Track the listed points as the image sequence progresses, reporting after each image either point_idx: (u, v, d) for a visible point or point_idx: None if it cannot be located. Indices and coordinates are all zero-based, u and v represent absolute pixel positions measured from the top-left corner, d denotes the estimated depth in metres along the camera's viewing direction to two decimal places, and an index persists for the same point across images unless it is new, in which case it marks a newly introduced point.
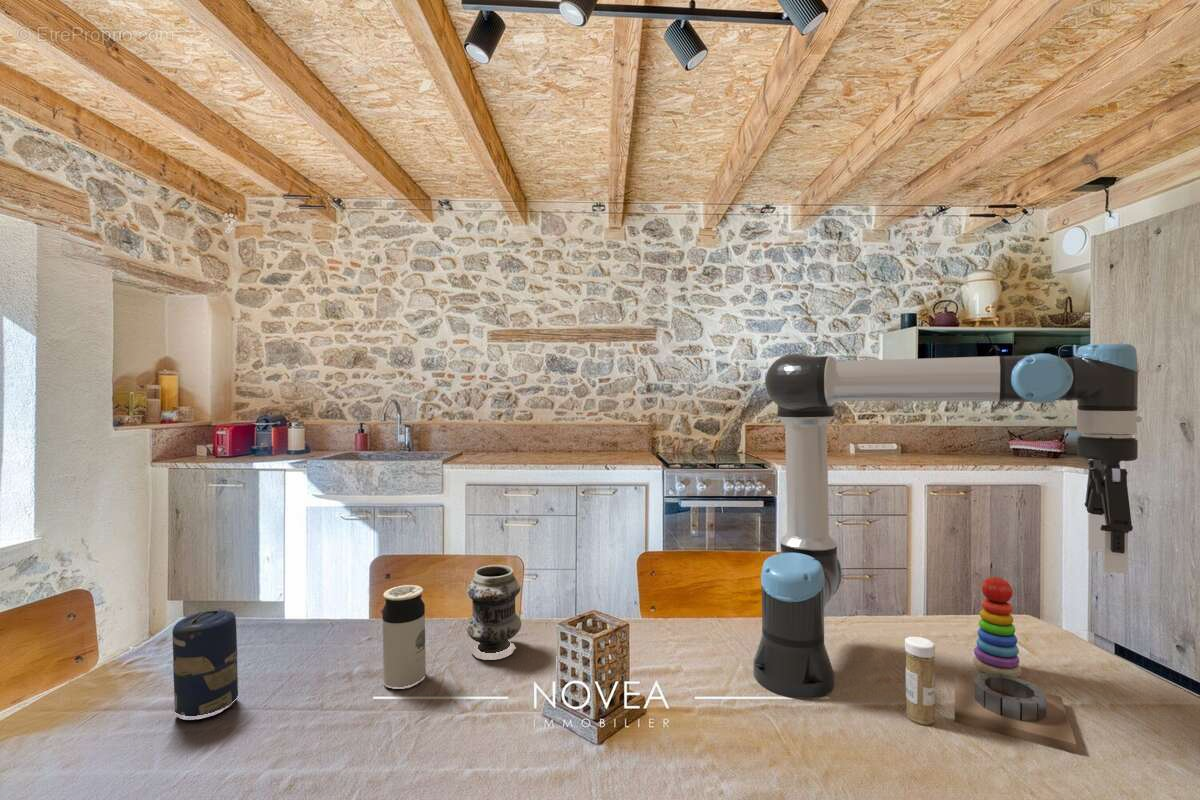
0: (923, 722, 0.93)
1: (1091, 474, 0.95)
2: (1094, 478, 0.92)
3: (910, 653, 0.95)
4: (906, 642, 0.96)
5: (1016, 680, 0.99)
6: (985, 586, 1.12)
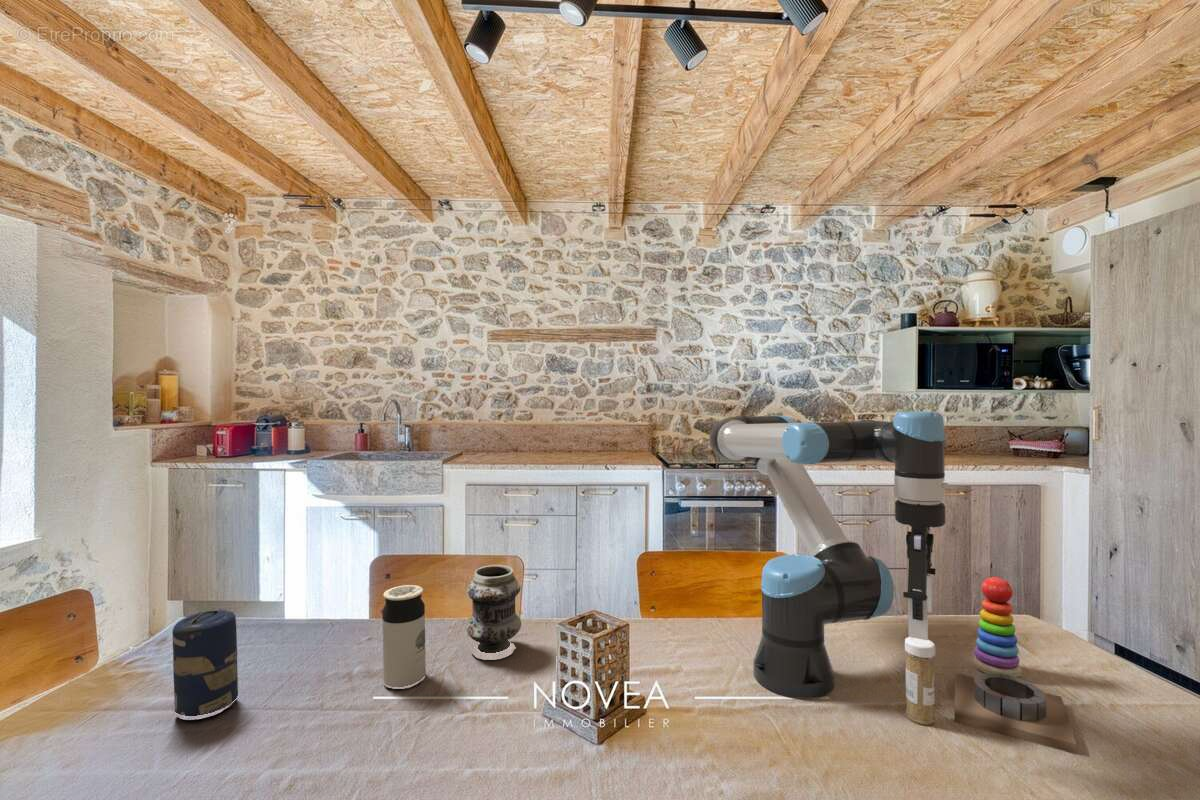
0: (923, 722, 0.93)
1: None
2: (906, 542, 0.94)
3: (910, 653, 0.95)
4: (906, 642, 0.96)
5: (1016, 680, 0.99)
6: (985, 586, 1.12)
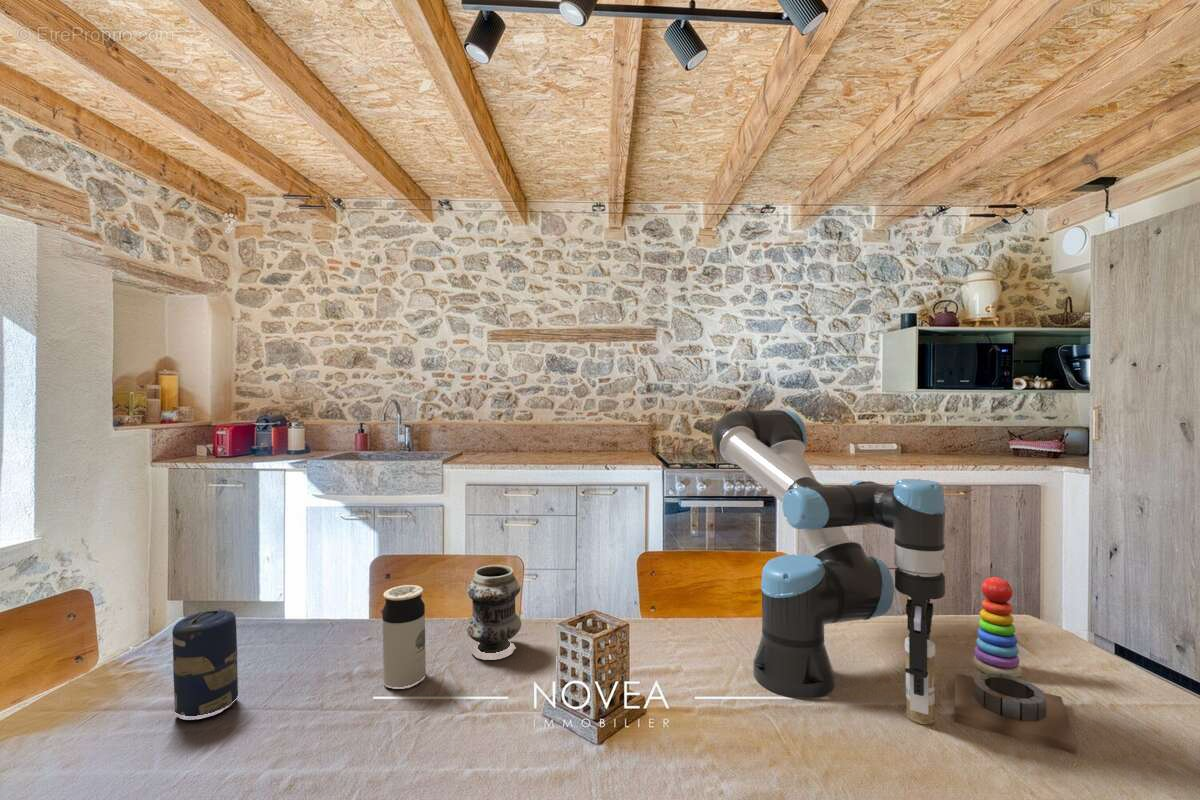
0: (923, 722, 0.93)
1: (908, 604, 0.97)
2: None
3: None
4: (906, 642, 0.96)
5: (1016, 680, 0.99)
6: (985, 586, 1.12)
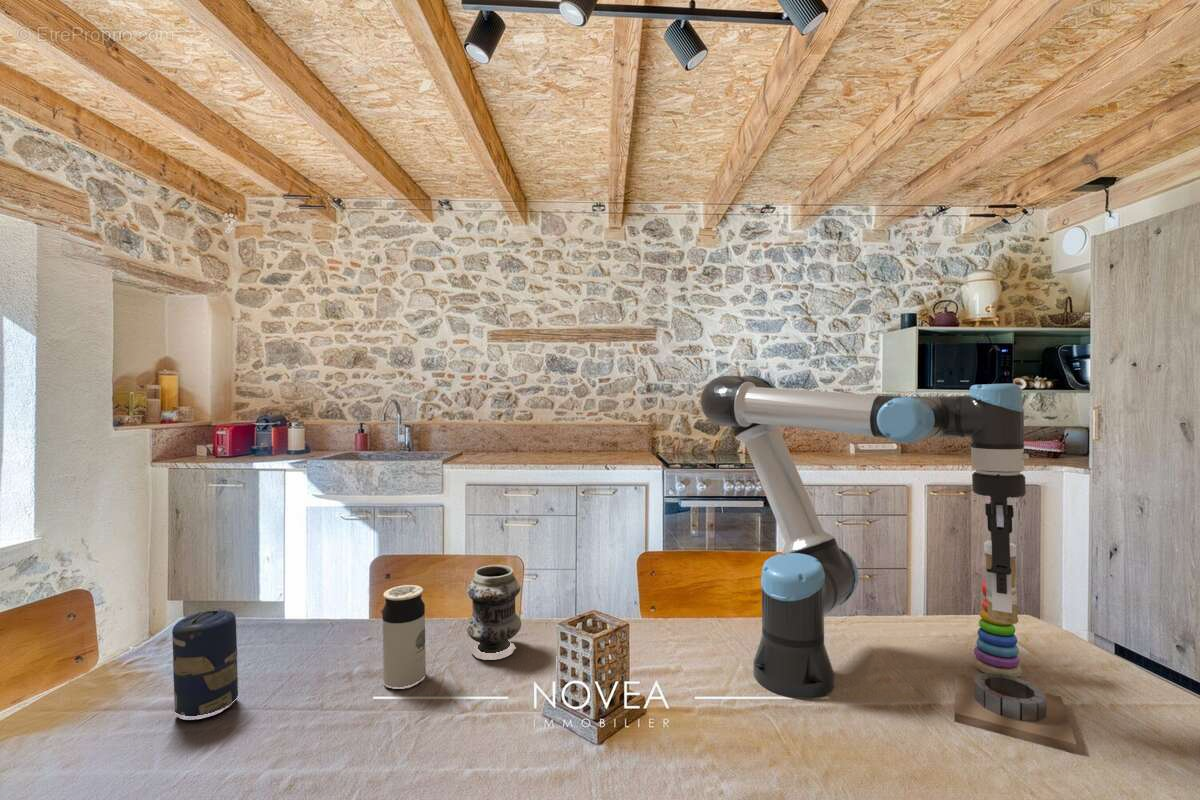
0: (1006, 622, 0.94)
1: None
2: (986, 515, 0.96)
3: (991, 554, 0.95)
4: (986, 544, 0.96)
5: (1016, 680, 0.99)
6: (985, 586, 1.12)
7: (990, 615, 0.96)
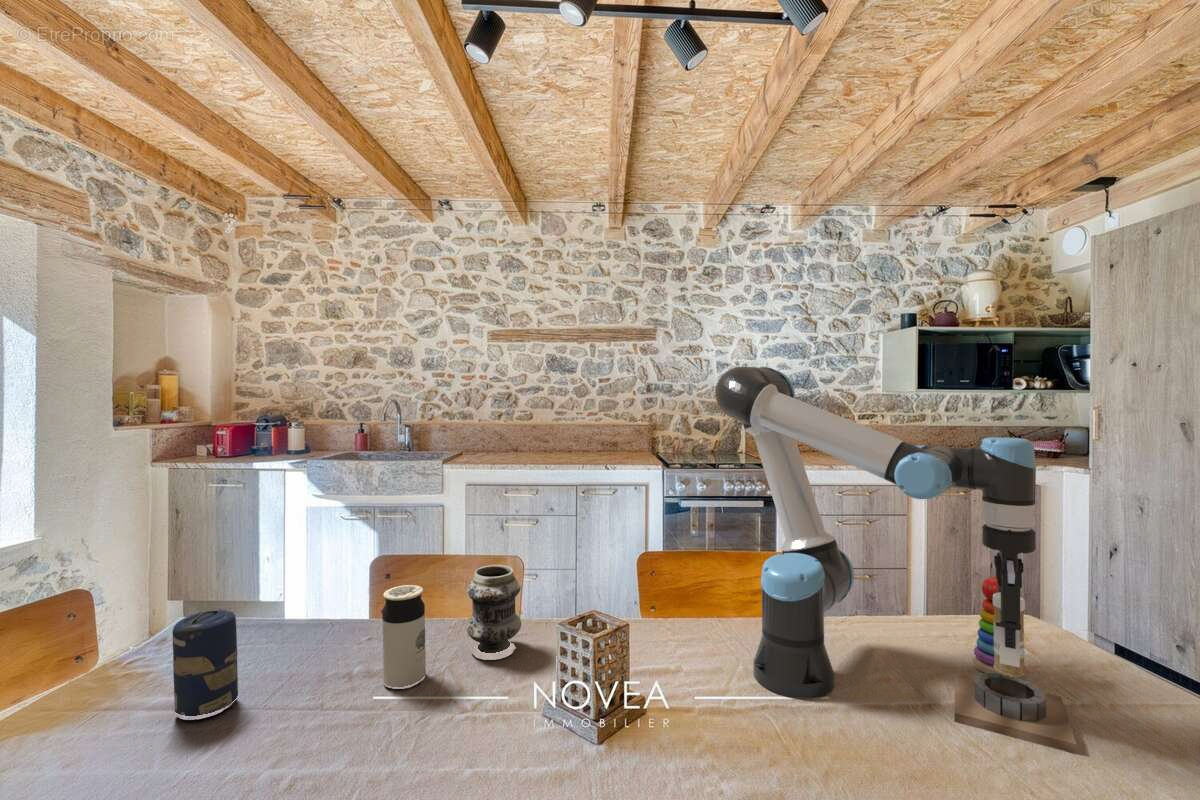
0: (1014, 675, 0.95)
1: None
2: None
3: (1000, 607, 0.96)
4: (995, 597, 0.97)
5: (1016, 680, 0.99)
6: (985, 586, 1.12)
7: (997, 667, 0.97)
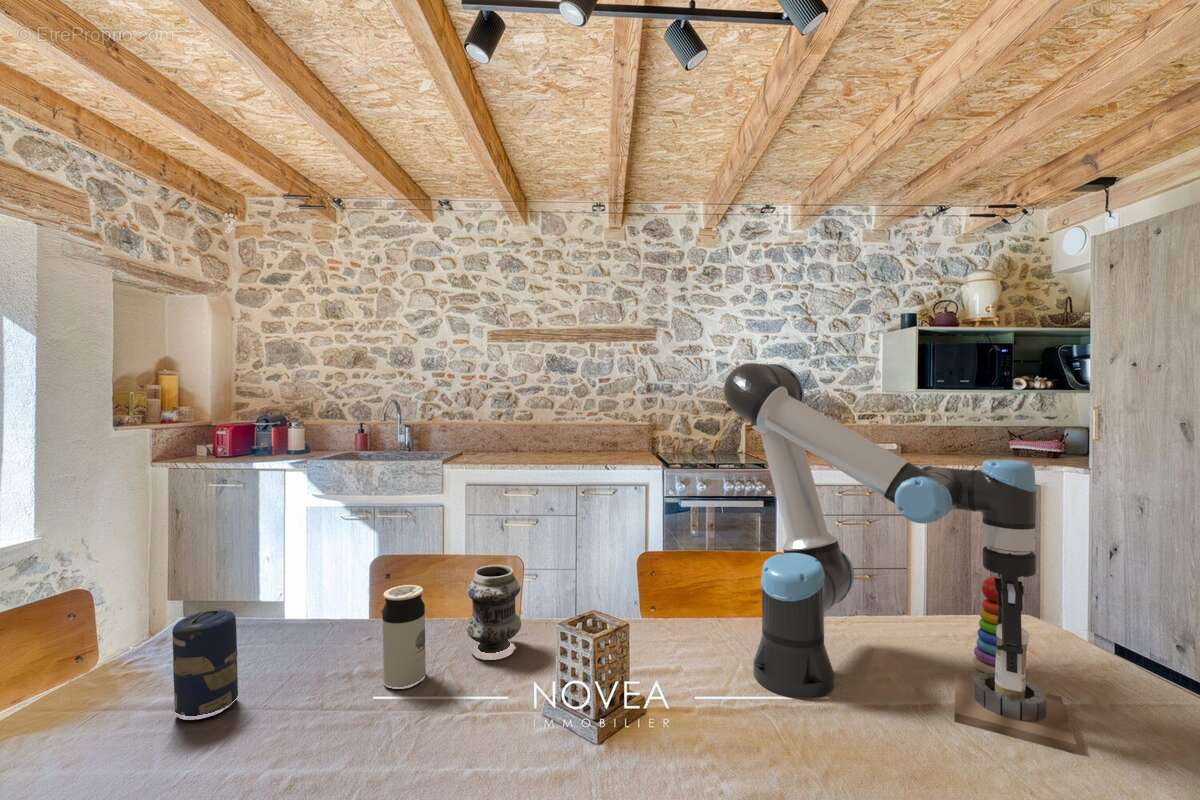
0: None
1: None
2: (996, 591, 0.96)
3: None
4: (999, 629, 0.97)
5: None
6: (985, 586, 1.12)
7: None
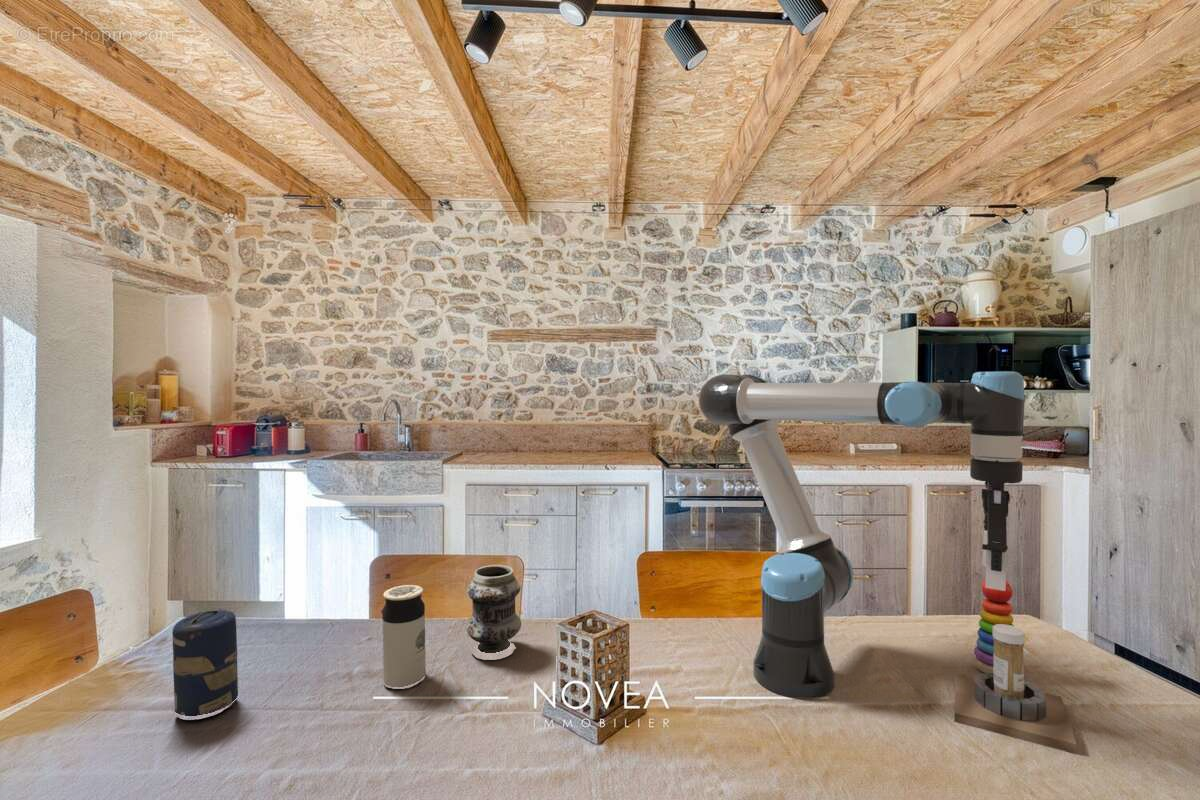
0: None
1: None
2: (982, 499, 0.97)
3: (999, 640, 0.96)
4: (995, 629, 0.97)
5: None
6: None
7: None
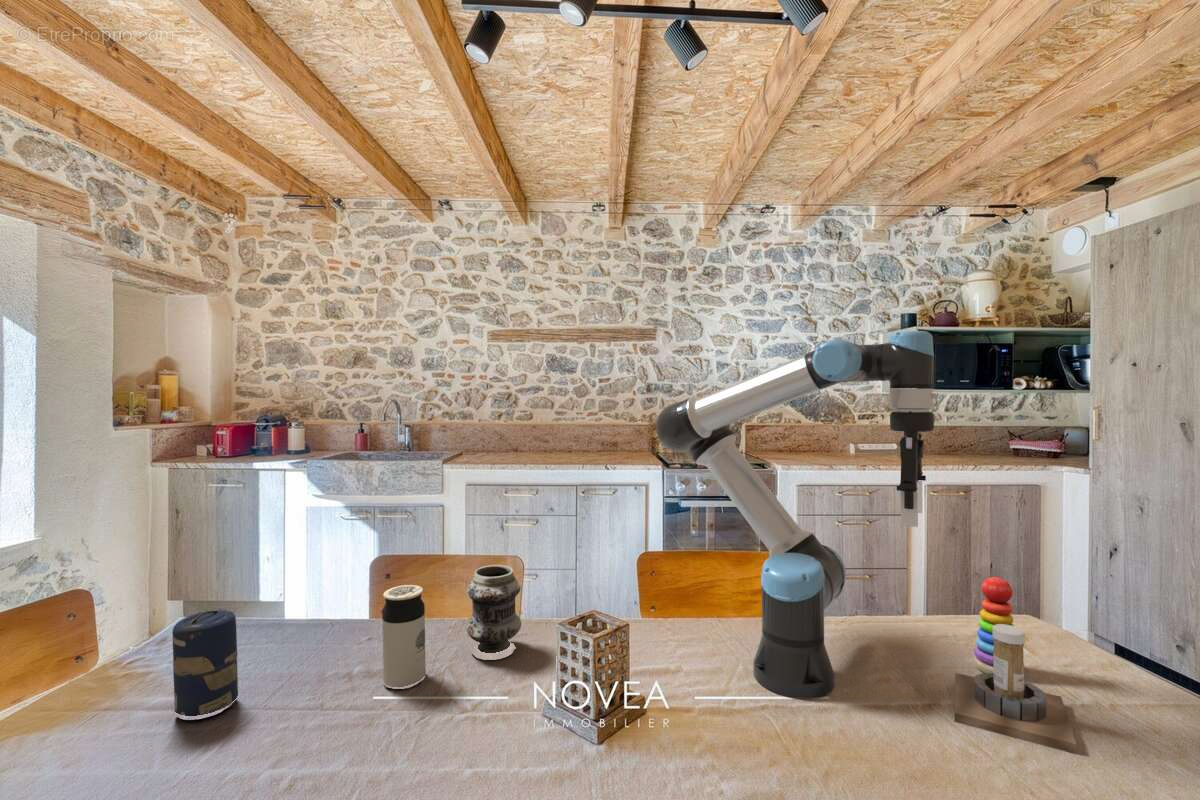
0: None
1: None
2: (900, 447, 1.07)
3: (999, 640, 0.96)
4: (995, 629, 0.97)
5: None
6: (985, 586, 1.12)
7: None
